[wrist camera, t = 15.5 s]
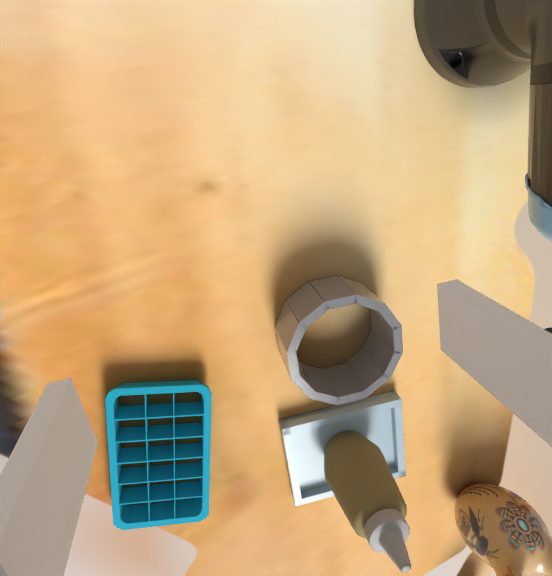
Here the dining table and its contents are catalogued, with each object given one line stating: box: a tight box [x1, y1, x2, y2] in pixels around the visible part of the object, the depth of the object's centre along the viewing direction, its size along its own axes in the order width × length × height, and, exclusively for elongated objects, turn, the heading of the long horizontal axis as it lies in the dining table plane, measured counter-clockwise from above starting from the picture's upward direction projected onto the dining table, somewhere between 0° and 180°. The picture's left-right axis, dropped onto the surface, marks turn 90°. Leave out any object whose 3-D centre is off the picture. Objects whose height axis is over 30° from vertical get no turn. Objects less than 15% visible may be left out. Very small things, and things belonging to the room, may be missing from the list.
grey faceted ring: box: [275, 275, 403, 405], centre depth 52 cm, size 13×13×6 cm
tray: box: [279, 391, 406, 506], centre depth 61 cm, size 16×13×2 cm
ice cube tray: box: [105, 380, 211, 530], centre depth 55 cm, size 12×20×3 cm, turn 176°
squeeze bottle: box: [324, 430, 411, 572], centre depth 53 cm, size 8×8×18 cm
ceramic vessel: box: [454, 484, 552, 576], centre depth 59 cm, size 16×9×25 cm, turn 80°
